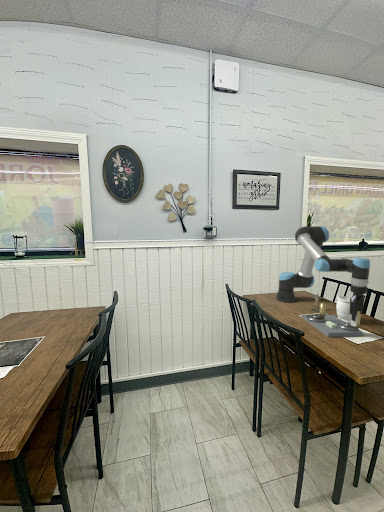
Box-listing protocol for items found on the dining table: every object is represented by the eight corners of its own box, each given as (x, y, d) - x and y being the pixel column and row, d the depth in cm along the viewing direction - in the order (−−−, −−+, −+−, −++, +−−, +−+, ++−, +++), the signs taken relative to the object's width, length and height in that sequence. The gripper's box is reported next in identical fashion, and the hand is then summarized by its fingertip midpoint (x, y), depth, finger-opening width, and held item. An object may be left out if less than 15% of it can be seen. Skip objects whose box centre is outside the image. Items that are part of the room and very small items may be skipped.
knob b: (335, 326, 127) (337, 309, 126) (339, 321, 134) (341, 305, 133) (356, 332, 120) (358, 314, 119) (359, 327, 127) (361, 309, 126)
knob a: (307, 320, 136) (308, 304, 135) (305, 314, 145) (306, 299, 144) (326, 323, 132) (327, 306, 131) (323, 317, 141) (324, 301, 140)
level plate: (303, 319, 145) (304, 312, 144) (332, 318, 146) (333, 311, 145) (328, 337, 121) (328, 328, 120) (362, 336, 122) (363, 328, 121)
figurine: (323, 308, 164) (324, 293, 162) (326, 312, 157) (327, 296, 156) (307, 307, 166) (308, 292, 164) (309, 310, 159) (311, 295, 158)
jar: (357, 324, 137) (360, 301, 135) (339, 323, 139) (341, 300, 137) (349, 317, 147) (351, 296, 145) (332, 316, 149) (334, 295, 147)
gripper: (360, 289, 114) (355, 331, 118) (373, 284, 123) (369, 324, 126) (344, 286, 121) (340, 325, 124) (357, 282, 129) (354, 319, 132)
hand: (354, 324), depth 125 cm, fingers closed on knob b, 3 cm apart
